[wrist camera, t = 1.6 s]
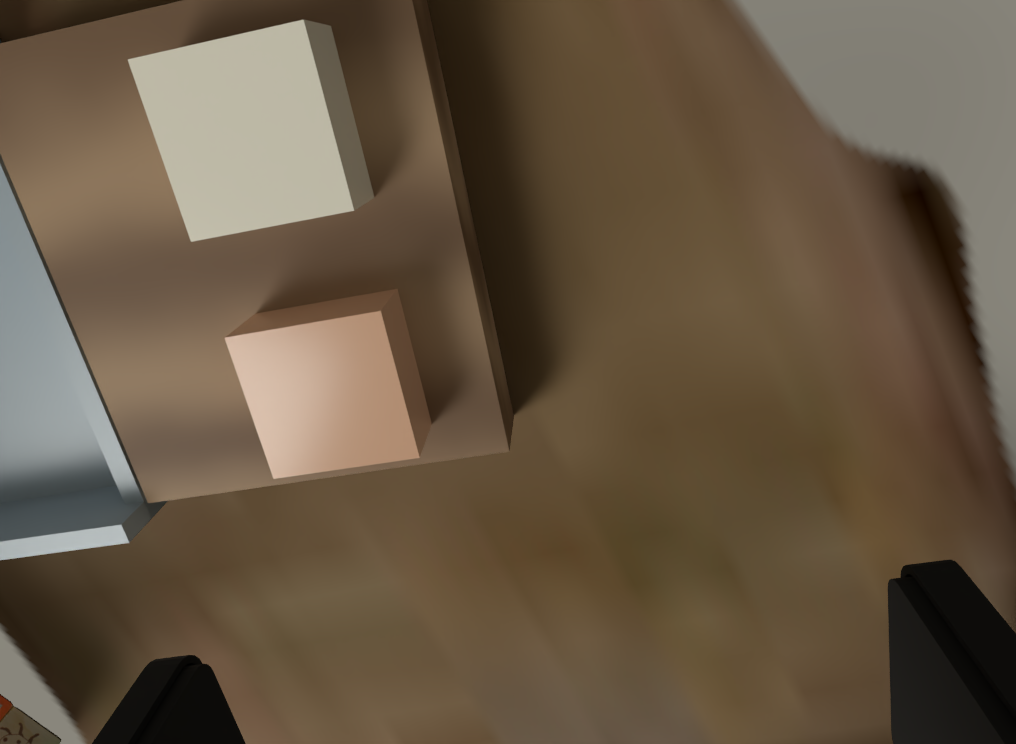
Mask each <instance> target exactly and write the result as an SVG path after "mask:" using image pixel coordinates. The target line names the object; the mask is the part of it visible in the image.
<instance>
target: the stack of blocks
mask: <svg viewBox="0 0 1016 744" xmlns="http://www.w3.org/2000/svg"><path fill="white" fill-rule="evenodd" d="M60 742H61V739H60V738H59V737H58V736H57V735H55V734H54V733H52V732H51V731H50V730H48V729H47V728H45V727H44V726H42V725H41V724H40V723H38V722H37V721H35V720H34V719H33V718H32V717H30V716H28V715H27V714H26V713H24V712H23V711H22V710H20V709H18V708H17V707H14V706H13V704H12V703H11V701H9V700H8V699H6V698H5V697H3V696H2V695H1V694H0V744H59V743H60Z"/></svg>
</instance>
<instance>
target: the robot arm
mask: <svg viewBox="0 0 1016 744" xmlns="http://www.w3.org/2000/svg"><path fill="white" fill-rule="evenodd" d="M888 614H889V653H890V692H891V731H892V740H893V744H1016V633H1015V632H1014V631H1013V630H1012V629H1011V627H1010V626H1009V625H1008V624H1007V622H1006V621H1005V620H1004V619H1003V618H1002V616H1001V615H1000V614H999V613H998V612H997V610H996V609H995V608H994V607H993V605H992V604H991V603H990V602H989V601H988V599H987V598H986V597H985V596H984V594H983V593H982V592H981V591H980V590H979V588H978V587H977V586H976V585H975V584H974V582H973V581H972V580H971V579H970V577H969V576H968V575H967V574H966V573H965V571H964V570H963V569H962V568H961V567H960V566H959V565H958V564H957V563H956V562H955V561H953V560H943V561H935V562H927V563H919V564H911V565H905V566H903V568H902V570H901V578H896V579H891V580H889V583H888ZM92 744H245V741H244V739H243V737H242V735H241V732H240V730H239V728H238V726H237V724H236V721H235V719H234V717H233V715H232V712H231V710H230V708H229V706H228V703H227V701H226V699H225V697H224V694H223V692H222V690H221V688H220V685H219V683H218V681H217V679H216V676H215V674H214V672H213V670H212V669H211V667H210V666H209V665H207V664H202V662H201V661H200V659H199V658H198V657H196V656H195V655H186V656H178V657H170V658H163V659H155V660H153V661H151V662H150V663H149V664H148V665H147V666H146V667H145V668H144V670H143V671H142V672H141V674H140V675H139V677H138V678H137V680H136V681H135V683H134V684H133V685H132V687H131V688H130V690H129V691H128V693H127V694H126V695H125V697H124V698H123V700H122V701H121V703H120V704H119V706H118V707H117V708H116V710H115V711H114V713H113V714H112V716H111V717H110V719H109V720H108V721H107V723H106V724H105V726H104V727H103V729H102V730H101V731H100V733H99V734H98V736H97V737H96V739H95V740H94V742H93V743H92Z"/></svg>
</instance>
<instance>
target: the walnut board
mask: <svg viewBox="0 0 1016 744" xmlns="http://www.w3.org/2000/svg"><path fill="white" fill-rule="evenodd" d="M299 20H308V21H312V22H316V23H321V24H325V25H329V26H331V28H332V32H333V36H334V40H335V44H336V48H337V52H338V56H339V60H340V64H341V68H342V72H343V75H344V79H345V83H346V87H347V91H348V95H349V99H350V103H351V107H352V111H353V115H354V119H355V123H356V127H357V131H358V135H359V139H360V143H361V146H362V150H363V154H364V158H365V162H366V166H367V170H368V174H369V178H370V182H371V186H372V190H373V194H374V198H373V199H371V200H370V201H368V202H367V203H365V204H364V205H362V206H361V207H359V208H358V209H356V210H355V211H350V212H345V213H340V214H334V215H329V216H324V217H319V218H314V219H308V220H303V221H298V222H293V223H287V224H282V225H277V226H272V227H266V228H261V229H256V230H251V231H245V232H240V233H235V234H230V235H225V236H219V237H214V238H209V239H204V240H198V241H193V242H191V240H190V238H189V235H188V232H187V229H186V226H185V223H184V220H183V217H182V215H181V212H180V209H179V206H178V203H177V200H176V197H175V194H174V192H173V189H172V186H171V183H170V180H169V177H168V174H167V171H166V169H165V166H164V163H163V160H162V157H161V154H160V151H159V149H158V146H157V143H156V140H155V137H154V134H153V131H152V128H151V126H150V123H149V120H148V117H147V114H146V111H145V108H144V105H143V103H142V100H141V97H140V94H139V91H138V88H137V85H136V82H135V80H134V77H133V74H132V71H131V68H130V65H129V62H128V59H132V58H137V57H141V56H145V55H150V54H154V53H158V52H163V51H167V50H172V49H176V48H180V47H185V46H189V45H194V44H198V43H202V42H207V41H211V40H216V39H220V38H224V37H229V36H233V35H238V34H242V33H246V32H251V31H255V30H260V29H264V28H268V27H273V26H277V25H282V24H286V23H290V22H295V21H299ZM0 154H1V157H2V159H3V161H4V164H5V166H6V168H7V171H8V173H9V175H10V178H11V180H12V183H13V185H14V187H15V190H16V192H17V194H18V197H19V199H20V202H21V204H22V206H23V209H24V211H25V213H26V216H27V218H28V220H29V223H30V225H31V228H32V230H33V232H34V235H35V237H36V239H37V242H38V244H39V246H40V249H41V251H42V254H43V256H44V258H45V261H46V263H47V265H48V268H49V270H50V272H51V275H52V277H53V280H54V282H55V284H56V287H57V289H58V291H59V294H60V296H61V298H62V301H63V303H64V306H65V308H66V310H67V313H68V315H69V317H70V320H71V322H72V324H73V327H74V329H75V332H76V334H77V336H78V339H79V341H80V343H81V346H82V348H83V351H84V353H85V355H86V358H87V360H88V362H89V365H90V367H91V369H92V372H93V374H94V377H95V379H96V381H97V384H98V386H99V388H100V391H101V393H102V395H103V398H104V400H105V403H106V405H107V407H108V410H109V412H110V414H111V417H112V419H113V421H114V424H115V426H116V429H117V431H118V433H119V436H120V438H121V440H122V443H123V445H124V447H125V450H126V452H127V455H128V457H129V459H130V462H131V464H132V466H133V469H134V471H135V474H136V476H137V478H138V481H139V483H140V485H141V488H142V490H143V492H144V495H145V497H146V500H147V502H148V503H154V502H161V501H168V500H175V499H182V498H189V497H196V496H203V495H210V494H217V493H224V492H231V491H238V490H245V489H252V488H259V487H266V486H273V485H280V484H287V483H294V482H301V481H307V480H314V479H321V478H328V477H335V476H342V475H349V474H356V473H363V472H370V471H377V470H384V469H391V468H398V467H405V466H412V465H419V464H426V463H433V462H440V461H447V460H454V459H461V458H468V457H475V456H482V455H488V454H495V453H502V452H509V450H510V443H511V435H512V427H513V419H514V414H513V409H512V404H511V399H510V395H509V390H508V385H507V380H506V375H505V371H504V366H503V361H502V356H501V351H500V347H499V342H498V337H497V332H496V328H495V323H494V318H493V313H492V308H491V304H490V299H489V294H488V289H487V284H486V280H485V275H484V270H483V265H482V260H481V256H480V251H479V246H478V241H477V237H476V232H475V227H474V222H473V217H472V213H471V208H470V203H469V198H468V193H467V189H466V184H465V179H464V174H463V170H462V165H461V160H460V155H459V150H458V146H457V141H456V136H455V131H454V126H453V122H452V117H451V112H450V107H449V102H448V98H447V93H446V88H445V83H444V79H443V74H442V69H441V64H440V59H439V55H438V50H437V45H436V40H435V35H434V31H433V26H432V21H431V16H430V11H429V7H428V2H427V0H182V1H178V2H174V3H169V4H165V5H161V6H157V7H152V8H148V9H144V10H140V11H135V12H131V13H127V14H123V15H118V16H114V17H110V18H106V19H102V20H97V21H93V22H89V23H85V24H80V25H76V26H72V27H68V28H63V29H59V30H55V31H51V32H46V33H42V34H38V35H34V36H30V37H25V38H21V39H17V40H13V41H8V42H4V43H0ZM393 289H398V292H399V296H400V300H401V304H402V308H403V312H404V316H405V320H406V324H407V328H408V332H409V336H410V340H411V344H412V348H413V352H414V356H415V359H416V363H417V367H418V371H419V375H420V379H421V383H422V387H423V391H424V395H425V399H426V403H427V407H428V411H429V415H430V419H431V423H432V425H431V428H430V431H429V433H428V436H427V439H426V442H425V445H424V447H423V450H422V453H421V456H420V458H415V459H408V460H401V461H394V462H388V463H381V464H374V465H367V466H360V467H353V468H346V469H339V470H332V471H325V472H319V473H312V474H305V475H298V476H291V477H284V478H277V479H273V476H272V473H271V470H270V467H269V464H268V462H267V459H266V456H265V453H264V450H263V447H262V444H261V441H260V439H259V436H258V433H257V430H256V427H255V424H254V421H253V418H252V416H251V413H250V410H249V407H248V404H247V401H246V398H245V396H244V393H243V390H242V387H241V384H240V381H239V378H238V375H237V373H236V370H235V367H234V364H233V361H232V358H231V355H230V352H229V350H228V347H227V344H226V341H225V337H226V336H227V335H229V334H230V333H231V332H232V331H234V330H235V329H236V328H238V327H239V326H240V325H241V324H243V323H244V322H245V321H246V320H248V319H249V318H250V317H252V316H253V315H254V314H256V313H262V312H267V311H273V310H279V309H285V308H290V307H296V306H302V305H307V304H313V303H319V302H324V301H330V300H336V299H342V298H347V297H353V296H359V295H364V294H370V293H376V292H381V291H387V290H393Z"/></svg>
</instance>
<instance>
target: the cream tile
mask: <svg viewBox="0 0 1016 744" xmlns="http://www.w3.org/2000/svg"><path fill="white" fill-rule="evenodd" d="M128 62H129V65H130V68H131V71H132V74H133V77H134V80H135V82H136V85H137V88H138V91H139V94H140V97H141V100H142V103H143V105H144V108H145V111H146V114H147V117H148V120H149V123H150V126H151V128H152V131H153V134H154V137H155V140H156V143H157V146H158V149H159V151H160V154H161V157H162V160H163V163H164V166H165V169H166V171H167V174H168V177H169V180H170V183H171V186H172V189H173V192H174V194H175V197H176V200H177V203H178V206H179V209H180V212H181V215H182V217H183V220H184V223H185V226H186V229H187V232H188V235H189V238H190V240H191V242H193V241H198V240H204V239H209V238H214V237H219V236H225V235H230V234H235V233H240V232H245V231H251V230H256V229H261V228H266V227H272V226H277V225H282V224H287V223H293V222H298V221H303V220H308V219H314V218H319V217H324V216H329V215H334V214H340V213H345V212H350V211H355V210H356V209H358V208H359V207H361V206H362V205H364V204H365V203H367V202H368V201H370V200H371V199H373V198H374V194H373V190H372V186H371V182H370V178H369V174H368V170H367V166H366V162H365V158H364V154H363V150H362V146H361V143H360V139H359V135H358V131H357V127H356V123H355V119H354V115H353V111H352V107H351V103H350V99H349V95H348V91H347V87H346V83H345V79H344V75H343V72H342V68H341V64H340V60H339V56H338V52H337V48H336V44H335V40H334V36H333V32H332V28H331V26H329V25H325V24H321V23H316V22H312V21H308V20H299V21H295V22H290V23H286V24H282V25H277V26H273V27H268V28H264V29H260V30H255V31H251V32H246V33H242V34H238V35H233V36H229V37H224V38H220V39H216V40H211V41H207V42H202V43H198V44H194V45H189V46H185V47H180V48H176V49H172V50H167V51H163V52H158V53H154V54H150V55H145V56H141V57H137V58H132V59H128Z"/></svg>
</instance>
